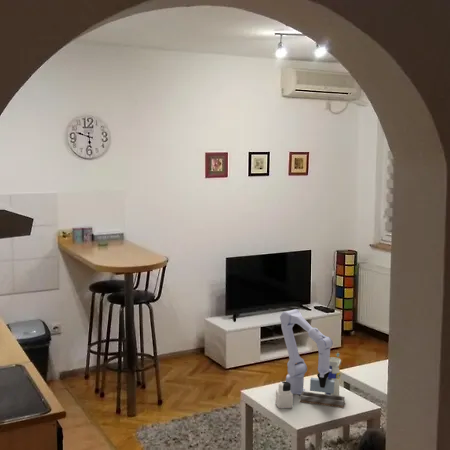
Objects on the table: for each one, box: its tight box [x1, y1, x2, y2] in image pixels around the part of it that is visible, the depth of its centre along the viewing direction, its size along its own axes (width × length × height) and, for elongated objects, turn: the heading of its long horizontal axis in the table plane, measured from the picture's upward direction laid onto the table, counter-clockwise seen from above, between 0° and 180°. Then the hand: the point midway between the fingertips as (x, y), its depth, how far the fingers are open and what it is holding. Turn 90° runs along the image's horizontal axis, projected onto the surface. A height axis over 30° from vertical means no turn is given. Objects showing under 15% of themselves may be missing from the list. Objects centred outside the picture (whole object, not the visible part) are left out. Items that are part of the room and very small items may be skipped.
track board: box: [299, 391, 346, 409], centre depth 315 cm, size 22×8×3 cm, turn 74°
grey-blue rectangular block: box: [309, 377, 335, 394], centre depth 314 cm, size 12×3×6 cm, turn 74°
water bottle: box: [324, 351, 342, 396], centre depth 324 cm, size 8×9×25 cm
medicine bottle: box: [275, 380, 294, 409], centre depth 309 cm, size 7×7×12 cm
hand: (322, 386), depth 314 cm, fingers closed on grey-blue rectangular block, 3 cm apart
